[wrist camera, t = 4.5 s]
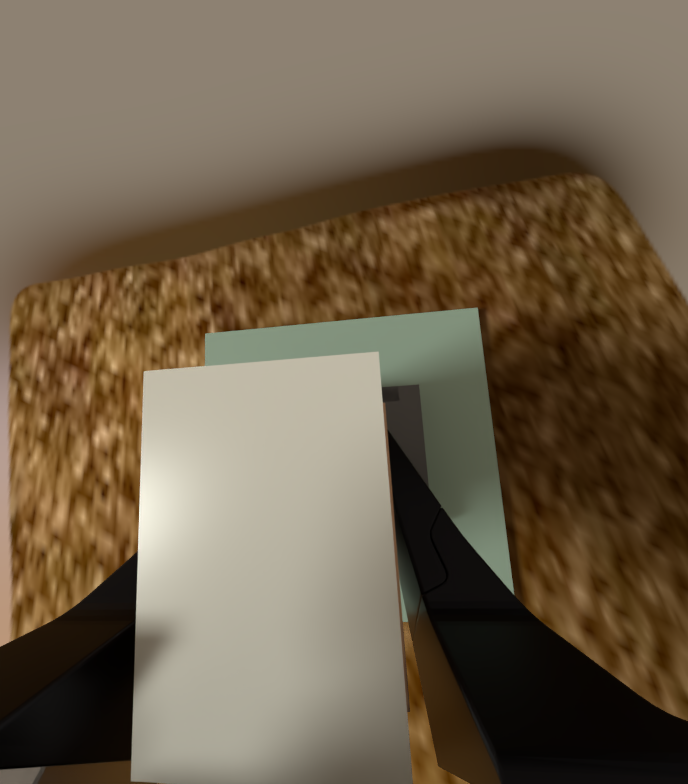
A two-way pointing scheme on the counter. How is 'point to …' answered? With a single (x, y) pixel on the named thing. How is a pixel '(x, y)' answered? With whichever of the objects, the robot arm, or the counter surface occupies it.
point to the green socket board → (414, 405)
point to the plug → (268, 578)
